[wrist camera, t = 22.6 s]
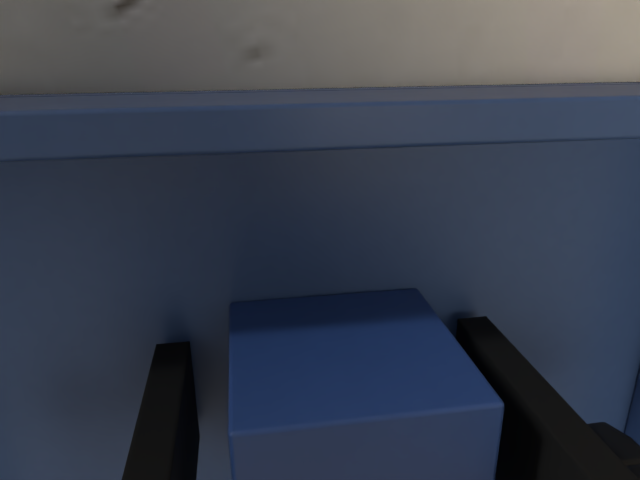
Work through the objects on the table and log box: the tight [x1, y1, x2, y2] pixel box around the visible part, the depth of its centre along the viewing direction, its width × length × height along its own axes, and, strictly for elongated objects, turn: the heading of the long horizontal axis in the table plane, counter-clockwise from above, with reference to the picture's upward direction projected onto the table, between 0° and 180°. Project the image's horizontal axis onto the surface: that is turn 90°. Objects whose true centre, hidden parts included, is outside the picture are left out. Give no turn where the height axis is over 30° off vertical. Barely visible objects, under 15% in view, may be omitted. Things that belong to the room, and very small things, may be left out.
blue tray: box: [0, 82, 640, 480], centre depth 13 cm, size 20×14×3 cm
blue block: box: [228, 289, 504, 480], centre depth 12 cm, size 5×5×5 cm
